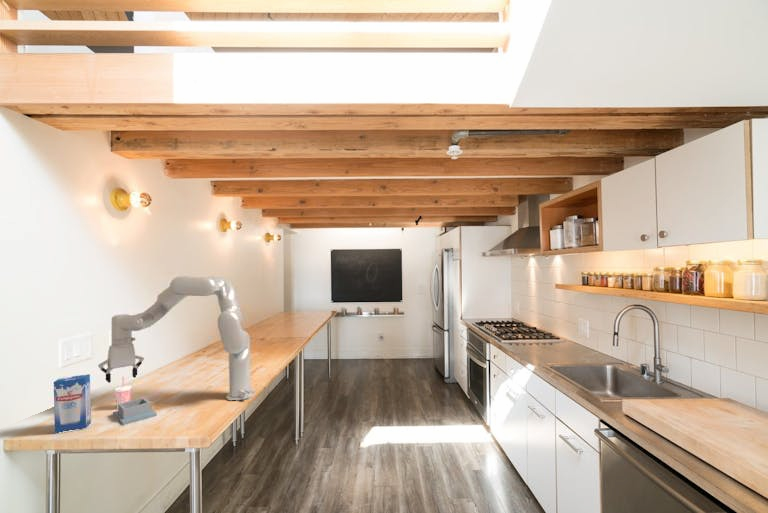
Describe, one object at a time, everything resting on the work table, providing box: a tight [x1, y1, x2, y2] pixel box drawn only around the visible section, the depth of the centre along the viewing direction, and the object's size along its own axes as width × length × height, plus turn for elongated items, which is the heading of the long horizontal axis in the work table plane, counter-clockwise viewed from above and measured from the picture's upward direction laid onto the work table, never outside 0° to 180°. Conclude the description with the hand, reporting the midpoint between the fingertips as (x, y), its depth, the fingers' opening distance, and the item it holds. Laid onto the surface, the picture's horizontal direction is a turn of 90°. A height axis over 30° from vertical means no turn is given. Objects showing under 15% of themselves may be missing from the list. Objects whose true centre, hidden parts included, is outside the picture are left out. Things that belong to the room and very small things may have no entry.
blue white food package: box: [53, 374, 92, 434], centre depth 150 cm, size 10×6×20 cm, turn 114°
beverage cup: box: [114, 376, 132, 409], centre depth 171 cm, size 6×6×14 cm
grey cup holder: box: [112, 397, 157, 426], centre depth 162 cm, size 18×12×5 cm, turn 46°
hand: (121, 379), depth 171 cm, fingers open, 9 cm apart
